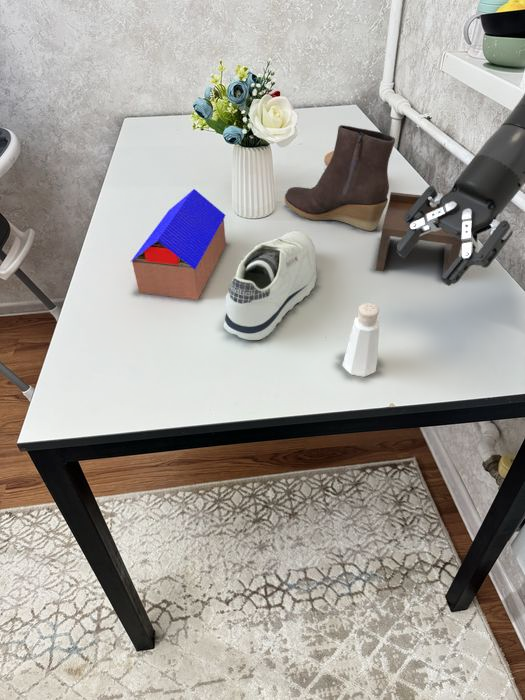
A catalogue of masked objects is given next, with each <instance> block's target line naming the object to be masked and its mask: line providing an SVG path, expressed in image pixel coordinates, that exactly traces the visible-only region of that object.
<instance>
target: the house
mask: <svg viewBox="0 0 525 700" xmlns="http://www.w3.org/2000/svg"><path fill="white" fill-rule="evenodd" d="M225 219H226V214H225V213H224V212H223V211H221V210H220V209H219V208H218V207H217V206H215V205H214V204H213V203H212V202H210V200H208V199H207V198H206V197H205V196H204V195H202V194H201V193H200V192H198V190H196V189H195V188H193V189H192V190H190V191H189V192H188V193H187V194H186V195H185V196H183V198H181V199H180V200H179V201H178V202H177V203H176V204H174V205H173V206H172V207H171V208H170V209H168V211H167V212H166V214H165V215H164V216H163V218H162V219H161V220H160V222H158V224H157V226H156V227H155V228H154V230H153V231H152V232H151V233H150V235H149V236H148V237H147V239H146V240H145V241H144V243H143V244H142V245H141V246H140V248H139V250H138V251H137V252H136V253H135V254H134V256H133V257H132V259H131V260H130V262H131V263H132V267H133V271H134V276H135V280H136V284H137V289H138V293H139V294H146V295H155V296H163V297H171V298H179V299H191V300H197V301H198V300H199V298H200V296H201V294H202V293H203V291H204V288H206V285H207V283H208V282H209V279H210V277H211V275H212V273H213V272H214V269H215V267H216V265H217V263H218V261H219V259H220V257H221V255H222V253H223V251H224V249H225V247H226V245H227V243H226V230H225Z"/></svg>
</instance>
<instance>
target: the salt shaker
mask: <svg viewBox="0 0 525 700" xmlns="http://www.w3.org/2000/svg"><path fill="white" fill-rule="evenodd" d="M379 312H380V308H379V307H378V306H377V304H376V305H375V304H374V303H370V302H367V303H366V302H365V303H362V304H361V305H359V306H358V313H357V317H355V318H354V321H353V324H352V328H351V331H350V336H349V338H348V343H347V346H346V351H345V354H344V358H343V362H342V367H343V368H344V369H345V370H346V371H347V372H348V374H350V375H351V376H357V377H362V378H365V377H368V376H369V375H372V374H374V373H376V371H377V366H378V353H379V337H380V335H379V334H380V320H378V316H379Z"/></svg>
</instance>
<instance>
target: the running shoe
mask: <svg viewBox="0 0 525 700" xmlns="http://www.w3.org/2000/svg"><path fill="white" fill-rule="evenodd" d="M316 262H317V253H316V247H315V244H314V242H313V240H312V238H311V237H310V236H309V235H308V234H307V233H305V232H302V231H298V230H295V231H290V232H287V233H285V234H283V235H281V236H280V237H277V238H274V239H272V240H269V241H266V242H265V241H263V242H261V243H259V244H257V245H255V246H254V247H253V249H251V250H250V251H249V252H248V253H247V254H246V255H245V256H244V257H243V259H242V260H241V262H239V265H238V266H237V269H236V274H235V276H233V278H232V279H231V283H230V284H229V287H228V291H227V292H226V297H225V303H224V307H225V308H224V309H225V312H226V313H225V317H224V320H223V328H224V330H225V331H227V332H228V333H229V334H231V335H235V336H237V337H238V338H240V339H242V340H249V341H259V340H262V339H265V338H266V337H267V336H269V335H270V333H272V332H274V330H275V329H276V327H277V325H278V324H279V323H281V322H282V319H283V317H285V315H286V314H287V313H288V312H289V311H291V310H292V309H294V306H295V305H297V303H301V302H302V301H303V300H304V299H305V297H308V296H309V295H310V294H311V291H312V290H314V288H315V286H316V281H317V279H318V276H317V265H316V264H317V263H316Z"/></svg>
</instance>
